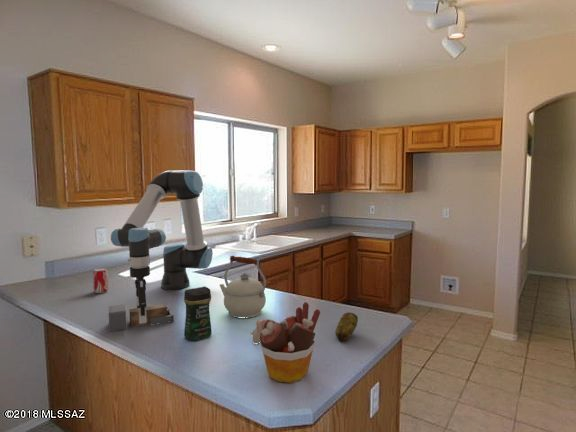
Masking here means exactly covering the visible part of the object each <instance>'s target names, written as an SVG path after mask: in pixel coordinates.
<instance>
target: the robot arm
mask: <svg viewBox="0 0 576 432" xmlns="http://www.w3.org/2000/svg"><path fill="white" fill-rule="evenodd" d="M203 187H204V183H203V178H202V176H201V175H200V173H199V172H198V171H196V170H189V169H187V170H186V169H185V170H181V169H180V170H166V171H163V172H160V173H158V175H156V176H155V177H154V178H153V179H152V180H151V181H150V182H149V183H148V184H147V186H146V188H145V189H146V192H145V193H144V194H143V196H142V197H141V198H140V200H139V202H138V204H136V206H135V208H134V209H133V211H132V212H131V214H130V215H129V217H128V218H127V220H126V221H125V223H124V224H123V226H122V227H121V228H117V229H114V230H113V231H112V232H111V234H110V242H111V244H112V245H113V246H116V247H122V248H125V247H128V249H129V250H128V251H129V253H128V255H129V256H128V257H129V258H128V259H127V262H129V266H130V267H129V276H130V277H131V278H134V279H135V280H134V284H135V296H136V299H135V300H136V308H139V324H142V323H147V317H146V307H147V306H148V305H147V296H146V295H147V294H146V291H147V289H146V286H147V281H146V279H145V277H149V276H150V275H151V268H150V263H151V262H150V260H151V259H150V258H151V257H150V249H151V250H152V249H154V248H158V247H160V246H162V245H164V243H165V242H166V239H167V236H166V233H165V231H164V230H162V229H160V228H153V229H148V227H145V225H146V224H147V222H148V221H149V219H150V217H151V216H152V214H153V212H154V211H155V209H156V208H157V206H158V204H159V202H160V201H161V200H163V199H164V198H165V197H166V196H167V195H169V194H174V195H175V196H176V200H178V201H179V202H180V208H181V213H182V219H183V226H184V232H185V237H186V243H174V244H169V245H166V246H164V248H163V253H162V256H163V274H162V278H161V282H160V287H161V289H164V290H180V289H185V288H187V287H189V286H190V283H191V282H190V278H189V276H188V273H187V269H196V270H197V269H198V270H200V269H208V268H209V267H210V265H211V263H212V259H213V249H212V247H210V246H208V242H207V241H205V240H204V235H203V229H202V222H201V220H202V219H201V214H200V208H199V201H198V199H199V197H200V195H201V193H202V192H203V189H204V188H203Z"/></svg>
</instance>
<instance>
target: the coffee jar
mask: <svg viewBox="0 0 576 432" xmlns="http://www.w3.org/2000/svg"><path fill="white" fill-rule="evenodd" d="M211 300H212V294H211V289H210V288H209V287H207V286H205V285H204V286H201V287H194V288H189V289H187V288H186V289H185V290H184V296H183V301H184V304H185V321H184V330H183V332H184V334H183V336H184V337H185V339H186V340H188V341H194V340H196V341H200V340H203V338H204V339H207V338H210V337H211V335H212V332H213V331H212V322H211V313H210V304H211ZM209 336H210V337H209ZM199 339H200V340H199ZM194 342H195V341H194Z"/></svg>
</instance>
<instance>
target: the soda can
mask: <svg viewBox="0 0 576 432" xmlns="http://www.w3.org/2000/svg"><path fill="white" fill-rule="evenodd" d="M92 285H93V287H92V288H93V292H94V293H96V294H104V293H107V292H108V290H109V272H108V271H107V268H105V267H99V268H95V269H94V270H93V272H92Z"/></svg>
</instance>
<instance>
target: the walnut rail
mask: <svg viewBox="0 0 576 432" xmlns="http://www.w3.org/2000/svg"><path fill="white" fill-rule="evenodd" d="M167 310H168V307H167V305H166V303H162V304H161V303H160V304H155V305H147V306H146V317H147V323H150V318H153V317H160V316H167ZM147 323H142V324H139V308H137V307H134V308H129V325H130V327H131V326H132V327H136V326H137V325H138V326H143V324H144V325H148V324H147ZM138 326H137V327H138Z"/></svg>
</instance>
